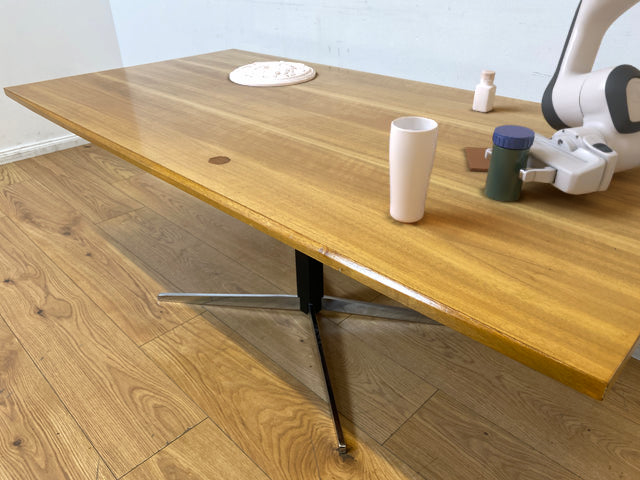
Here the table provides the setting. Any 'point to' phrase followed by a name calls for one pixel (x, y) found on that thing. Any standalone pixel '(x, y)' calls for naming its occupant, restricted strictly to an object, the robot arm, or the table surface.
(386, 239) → the table surface
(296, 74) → the ceiling medallion
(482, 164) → the coaster
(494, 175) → the jar
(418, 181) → the drinking glass
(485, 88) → the white corked bottle
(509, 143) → the lid
